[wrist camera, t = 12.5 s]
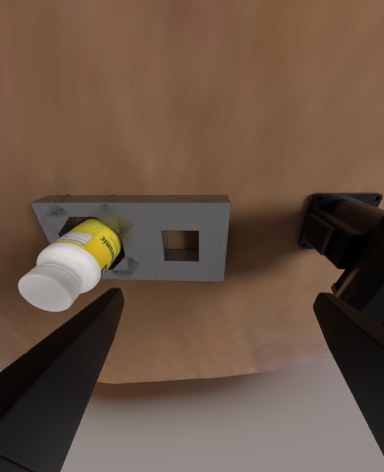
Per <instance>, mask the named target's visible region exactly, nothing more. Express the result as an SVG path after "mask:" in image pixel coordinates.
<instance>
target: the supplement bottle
mask: <svg viewBox="0 0 384 472" xmlns="http://www.w3.org/2000/svg"><path fill="white" fill-rule="evenodd" d="M122 248H123V244H122V240H121V236H120V234H119V233H117V232H116V231H115V230H113V229H112V228H111V227H109V226H108V225H107V224H105V223H104V222H103V221H101V220H100V219H99V218H97V217H91V218H88V219H87V220H85V221H83V222H82V223H81V224H79V225H78V226H76V227H75V228H73V229H72V230H71V231H69V232H68V233H66V234H65V235H63V236H62V237H61V238H59V239H58V240H56V241H55V242H53V243H52V244H51V245H49V246H48V247H47V248H45V249H44V250H43V251H42V252H41V253H40V254H39V256H38V258H37V266H36V267H35V268H33V269H32V270H31V271H30V272H28V273H27V274H26V275H25V276H23V277H22V278H21V279H20V281H19V283H18V288H19V291H20V293H21V295H22V296H23V297H24V298H25V299H26V300H27V301H28V302H29V303H31V304H32V305H34V306H36V307H38V308H40V309H43V310H46V311H52V312H59V311H63V310H66V309H68V308H69V307H70V306H71V305H72V303H73V302H74V301H75V300H76V299H77V297H78V296H79V294H80V293H84V292H87V291H89V290H91V289H92V288H94V287H95V286H96V284H97V283H98V282H99V281H100V279H101V278H102V276H103V275H104V274H105V272H106V271H107V269H108V268H109V267H110V265H111V264H112V262H113V261H114V260H115V258H116V257H117V255H118V254H119V253H120V251H121V250H122Z"/></svg>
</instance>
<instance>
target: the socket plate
mask: <svg viewBox="0 0 384 472" xmlns="http://www.w3.org/2000/svg"><path fill="white" fill-rule="evenodd" d="M31 205H32V207H33V209H34V212H35V214H36V216H37V218H38V220H39V222H40V224H39V225H41V226H42V228H43V230H44V232H45V235H46V237H47V239H48V241H49V243H50V245H51V244H52V243H53V242H55V241H56V240H58V239H59V238H61V237H62V236H63V235H65V234H66V233H68V232H69V231H71V230H72V229H73V228H74V226H73V223H74V222H75V220H76V219H77V217H97V218H99V219H100V220H101V221H103V222H104V223H105V224H107V225H108V226H109V227H111V228H112V229H113V230H115V231H116V232H117V233H119V234H120V236H121V240H122V244H123V248H124V252H125V254H124V255H123V256H122V257H121V258H115V260H114V261H113V262H112V264H111V265H110V267H109V268H108V269H107V271H106V272H105V274H104V275H103V276H102V278H101V279H123V280H126V279H127V280H170V281H213V282H224V271H225V260H226V249H227V238H228V228H229V217H230V206H231V202H230V200H229V197H228V195H128V196H116V195H115V194H114V195H112V196H70V195H69V194H68V195H66V196H47V197H44V198H42V199H39V200H37V201H34V202H31ZM166 230H183V231H199V250H196V249H168V243H167V233H166Z"/></svg>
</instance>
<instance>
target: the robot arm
mask: <svg viewBox="0 0 384 472" xmlns="http://www.w3.org/2000/svg"><path fill="white" fill-rule="evenodd" d="M318 197H320V199H319V200H317V198H318ZM375 197H376V198H375ZM374 198H375V199H374ZM381 200H382V195H381V194H378V193H317V194H315V195H314V196H313V198H312V201H311V204H310V207H309V210H308V213H307V214H306V217H305V220H304V223H303V226H302V229H301V232H300V234H301V235H300V239H299V242H298V246H299V247H300V248H306V249H315V250H316V251H317V252H318V253H319V254H320V255H324V256H325V257H326V258H327V259H328V260H329V261H330V262H331V263H332V264H333V265H335V266H336V267H337V268H338V269H345V271H344V272H343V274H342V275H341V276H340V278H339V279H338V281H337V282H336V283H334V284H333V285H332V287H331V289H332V292H333V294H334V295H333V294H331V293H319V294H318V296H317V298H316V300H315V302H314V305H313V310H314V312H315V315H316V318H317V320H318V323H319V325H320V328H321V330H322V333H323V335H324V338H325V340H326V343H327V345H328V347H329V349H330V351H331V353H332V355H333V357H334V359H335V361H336V363H337V365H338V367H339V369H340V371H341V373H342V375H343V377H344V379H345V381H346V383H347V385H348V387H349V388H350V390H351V393H352V394H353V396H354V398H355V400H356V402H357V404H358V406H359V408H360V410H361V412H362V414H363V416H364V418H365V420H366V422H367V424H368V426H369V428H370V430H371V431H372V434H373V436H374V438H375V440H376V442H377V443H378V445H379V448H380V449H381V451H382V453H383V455H384V210H383V209H380V208H378V206H379V204H380V202H381ZM303 243H304V244H303ZM302 244H303V245H302ZM123 306H124V297H123V294H122V290H121V288H114V287H113V288H110V289H109V290H107V291H106V292H105V293H103V294H102V295H101V296H99V297H98V298H97V299H96V300H94V301H93V302H92V303H90V304H89V305H88V306H86V307H85V308H84V309H82V310H81V311H80V312H78V313H77V314H76V315H75V316H73V317H72V318H71V319H69V320H68V321H67V322H65V323H64V324H63V325H61V326H60V327H59V328H58V329H56V330H55V331H54V332H52V333H51V334H50V335H48V336H47V337H46V338H44V339H43V340H42V341H41V342H39V343H38V344H37V345H35V346H34V347H33V348H31V349H30V350H29V351H28V352H27V353H25V354H23V355H22V356H21V357H19V358H18V359H17V360H16V361H14V362H13V363H12V364H10V365H9V366H8V367H6V368H5V369H4V370H2V371H1V372H0V472H60V471H61V469H62V466H63V463H64V461H65V459H66V456H67V454H68V451H69V449H70V446H71V444H72V441H73V439H74V437H75V434H76V431H77V429H78V427H79V424H80V422H81V419H82V417H83V414H84V412H85V409H86V407H87V404H88V402H89V399H90V397H91V394H92V392H93V389H94V387H95V384H96V382H97V379H98V377H99V375H100V372H101V370H102V367H103V365H104V362H105V360H106V357H107V355H108V352H109V350H110V347H111V345H112V342H113V340H114V337H115V334H116V330H117V327H118V324H119V320H120V317H121V313H122V310H123Z"/></svg>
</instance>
